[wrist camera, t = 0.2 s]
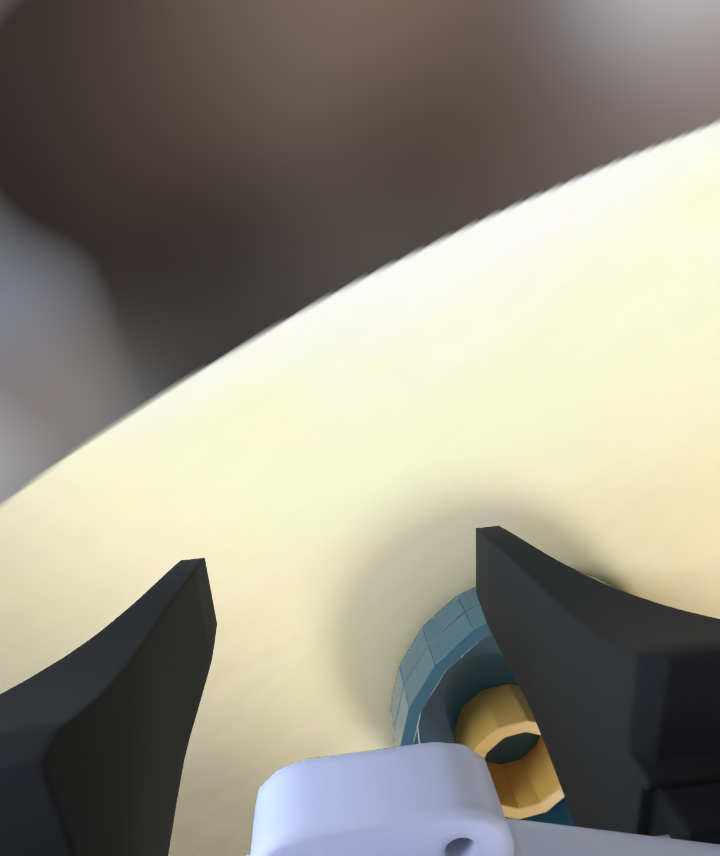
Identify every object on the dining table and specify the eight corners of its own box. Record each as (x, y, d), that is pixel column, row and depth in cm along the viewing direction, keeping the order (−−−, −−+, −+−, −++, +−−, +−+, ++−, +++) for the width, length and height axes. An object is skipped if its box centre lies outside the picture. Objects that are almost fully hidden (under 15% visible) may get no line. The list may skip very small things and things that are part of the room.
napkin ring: (532, 781, 27) (555, 827, 25) (441, 762, 27) (454, 807, 24) (566, 696, 26) (592, 734, 24) (473, 674, 26) (489, 711, 23)
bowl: (570, 853, 29) (604, 924, 25) (340, 755, 27) (342, 817, 23) (716, 638, 27) (773, 682, 24) (481, 516, 25) (507, 545, 22)
